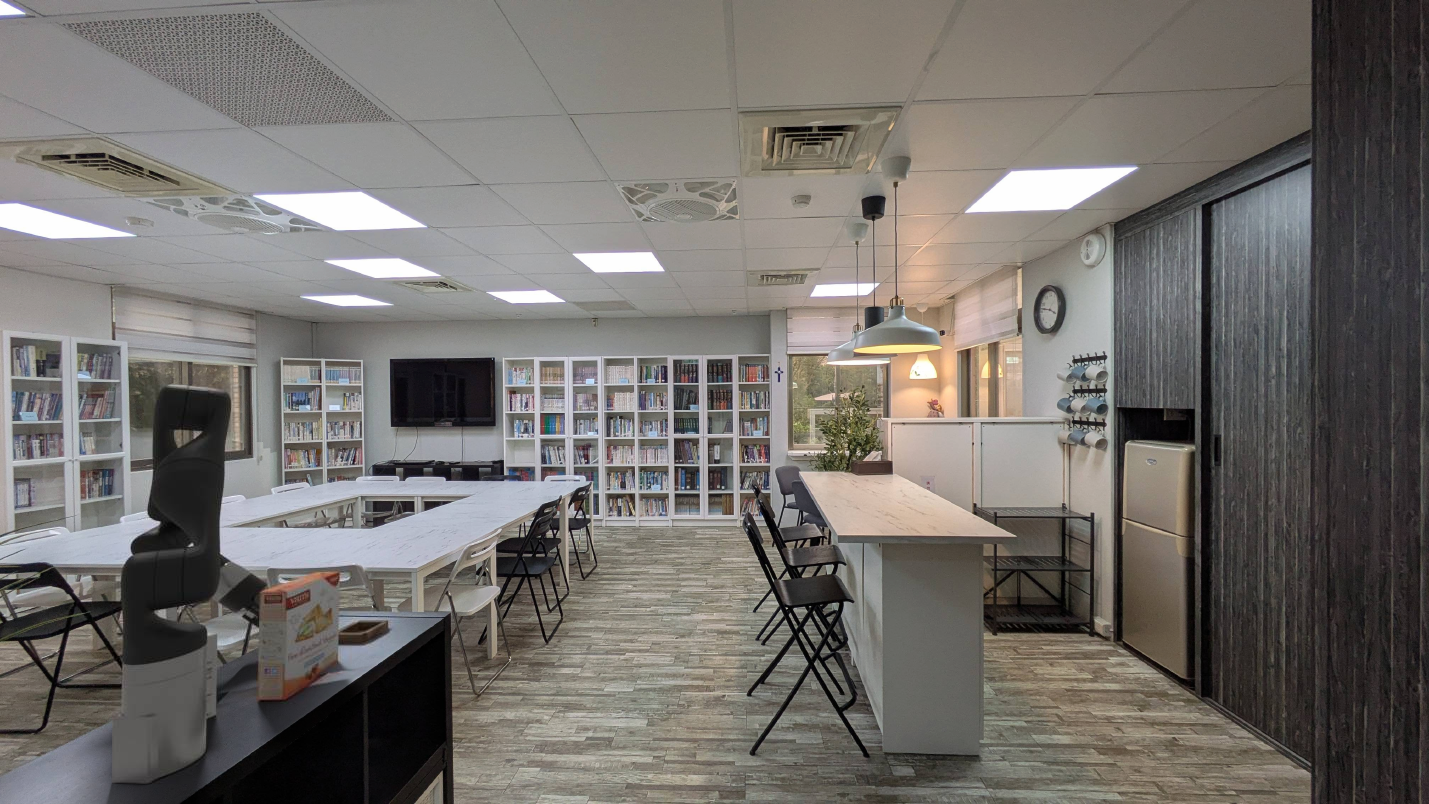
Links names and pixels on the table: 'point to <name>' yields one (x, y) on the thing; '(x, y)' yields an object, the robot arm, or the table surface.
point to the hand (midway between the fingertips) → (297, 628)
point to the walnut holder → (362, 631)
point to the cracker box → (297, 634)
